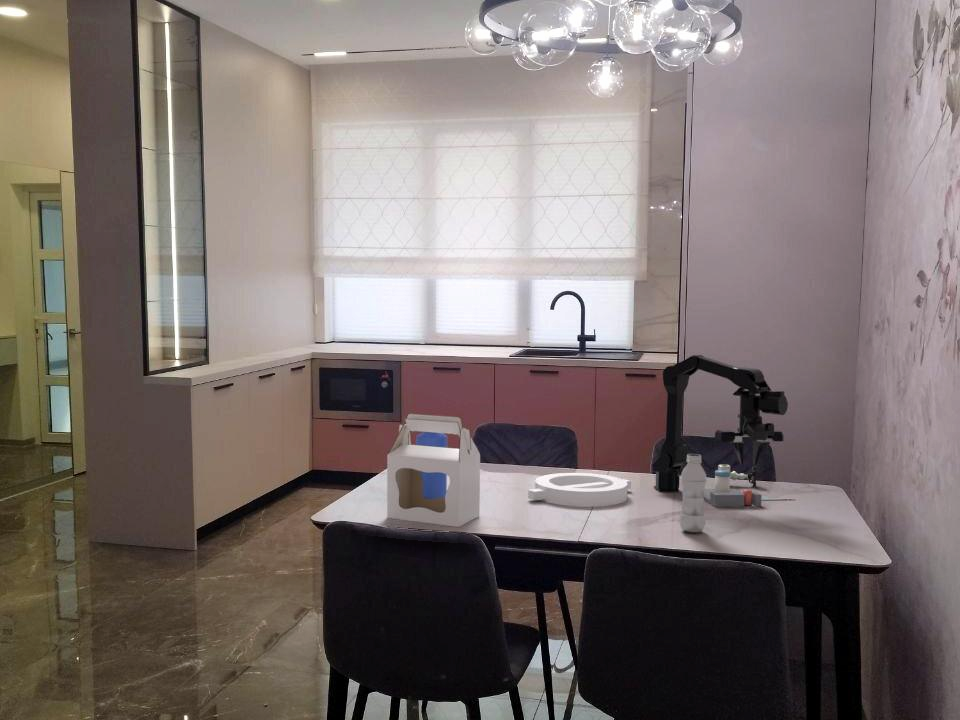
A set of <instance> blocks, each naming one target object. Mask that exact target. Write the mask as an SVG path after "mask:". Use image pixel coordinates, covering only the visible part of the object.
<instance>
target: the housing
mask: <svg viewBox="0 0 960 720" xmlns="http://www.w3.org/2000/svg"><path fill="white" fill-rule="evenodd" d="M759 493H760V492H757V491H752V504H751V505H752V506H753V505H754V507H762V500H761V496H762V495H761V494H759ZM703 498H704V500H703V501H705V502H706V501H707V502H706V503H708V504H709V503H710V504H709V505H711V506H712V505H713V507H714V508H729V507H730V508H736V507H737V508H741V507H742V508H743V507H744V508H745V504H744V494H743V491H739V490H738V489H736V488H730V492H715V488H705V489H704V497H703Z"/></svg>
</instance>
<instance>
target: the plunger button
mask: <svg viewBox="0 0 960 720" xmlns="http://www.w3.org/2000/svg"><path fill="white" fill-rule="evenodd" d="M752 492H753V490H752V489H742V493H743V494H744V506H745V505H746V506H750V505H752Z"/></svg>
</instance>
